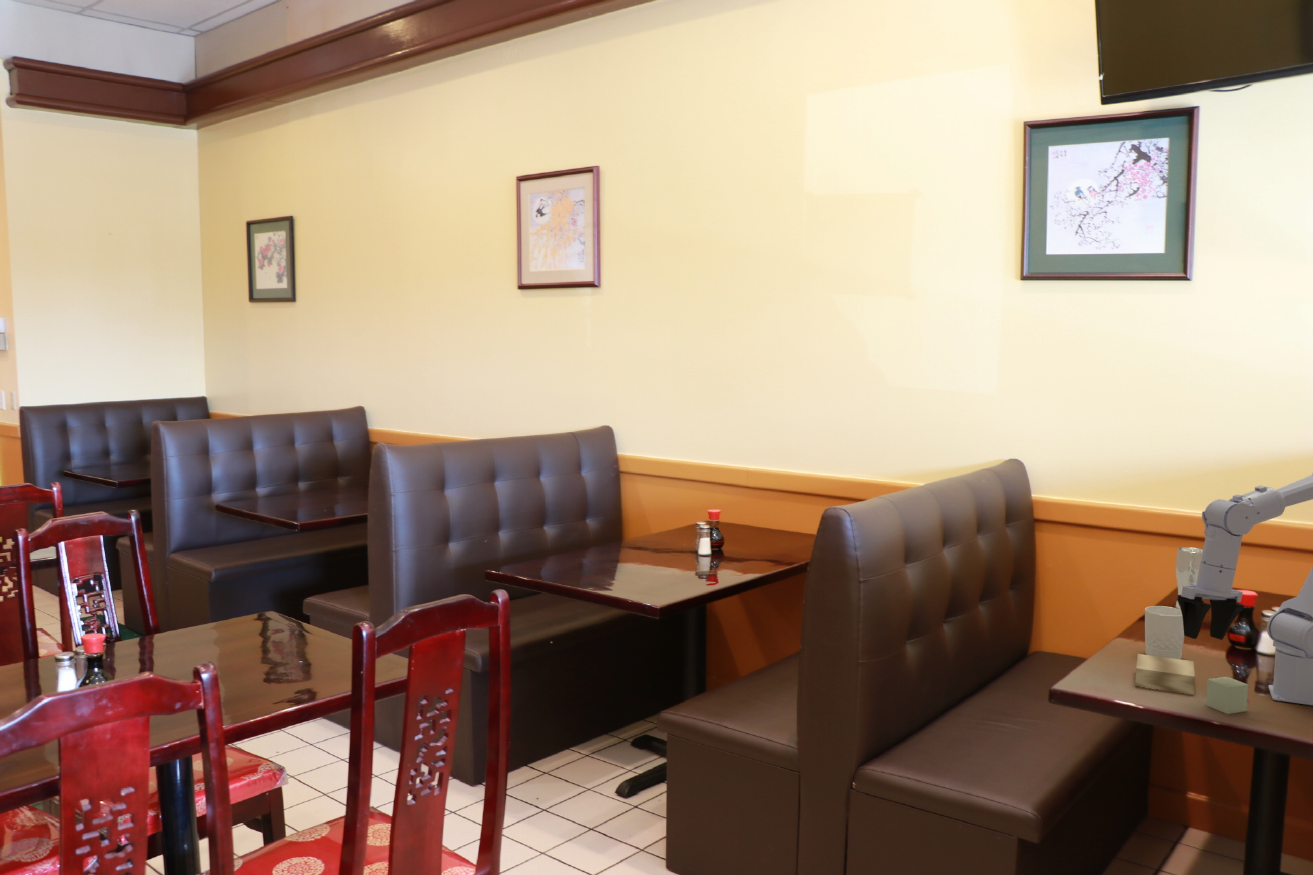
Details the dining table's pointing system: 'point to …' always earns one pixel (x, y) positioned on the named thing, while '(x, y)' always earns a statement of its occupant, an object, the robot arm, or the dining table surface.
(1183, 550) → the beer glass
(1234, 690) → the sage block
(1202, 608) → the robot arm
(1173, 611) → the white cup
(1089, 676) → the dining table surface
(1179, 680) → the bamboo box
